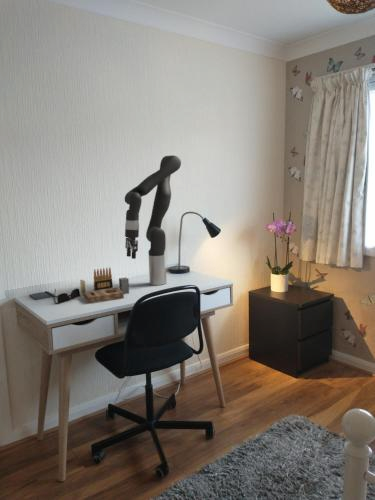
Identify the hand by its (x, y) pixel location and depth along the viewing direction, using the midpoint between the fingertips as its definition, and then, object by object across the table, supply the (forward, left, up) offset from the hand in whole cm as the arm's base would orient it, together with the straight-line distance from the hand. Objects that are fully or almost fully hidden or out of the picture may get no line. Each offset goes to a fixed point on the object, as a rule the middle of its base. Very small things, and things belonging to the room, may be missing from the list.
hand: (131, 257), depth 226 cm
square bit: (+7, +7, -18) cm, 20 cm away
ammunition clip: (+15, -8, -18) cm, 24 cm away
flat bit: (+28, 0, -18) cm, 33 cm away
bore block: (+20, +11, -18) cm, 29 cm away
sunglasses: (+39, 0, -18) cm, 43 cm away
